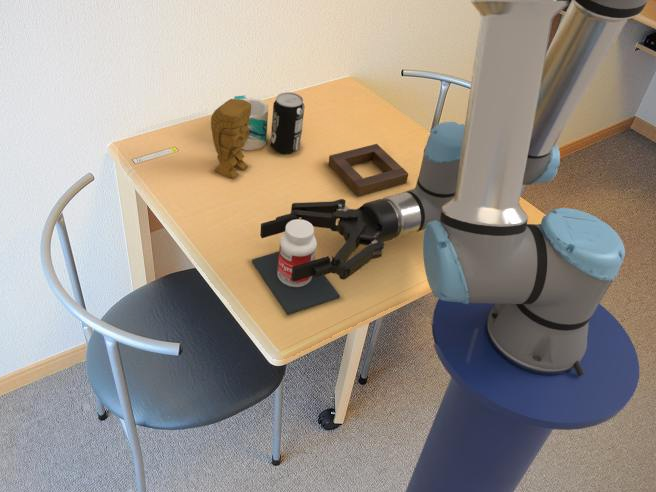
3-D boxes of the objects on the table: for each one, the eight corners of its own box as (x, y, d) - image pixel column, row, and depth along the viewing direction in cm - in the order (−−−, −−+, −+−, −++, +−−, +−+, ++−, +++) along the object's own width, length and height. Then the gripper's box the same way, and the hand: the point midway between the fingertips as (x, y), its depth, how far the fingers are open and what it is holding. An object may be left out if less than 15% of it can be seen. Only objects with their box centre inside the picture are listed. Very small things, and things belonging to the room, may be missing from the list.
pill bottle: (271, 281, 114) (274, 233, 106) (285, 259, 118) (289, 212, 110) (304, 293, 112) (310, 244, 104) (317, 270, 116) (324, 222, 108)
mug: (235, 152, 143) (236, 118, 137) (222, 123, 151) (222, 90, 146) (271, 147, 145) (273, 113, 139) (256, 119, 153) (257, 86, 148)
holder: (406, 183, 137) (408, 173, 135) (357, 196, 133) (359, 187, 131) (375, 153, 145) (376, 143, 143) (328, 165, 141) (329, 155, 139)
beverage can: (265, 141, 146) (269, 93, 138) (292, 137, 148) (297, 89, 140) (276, 158, 142) (280, 109, 134) (304, 153, 144) (310, 104, 136)
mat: (339, 298, 112) (339, 295, 112) (287, 315, 109) (287, 312, 109) (300, 247, 121) (300, 244, 121) (251, 262, 118) (251, 259, 118)
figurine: (233, 181, 135) (234, 118, 125) (207, 171, 138) (206, 107, 127) (251, 165, 140) (253, 102, 129) (226, 155, 142) (226, 93, 132)
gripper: (422, 276, 111) (308, 315, 103) (350, 198, 126) (246, 227, 118) (432, 243, 106) (313, 281, 98) (356, 165, 121) (247, 194, 113)
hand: (276, 252), depth 108 cm, fingers open, 11 cm apart
